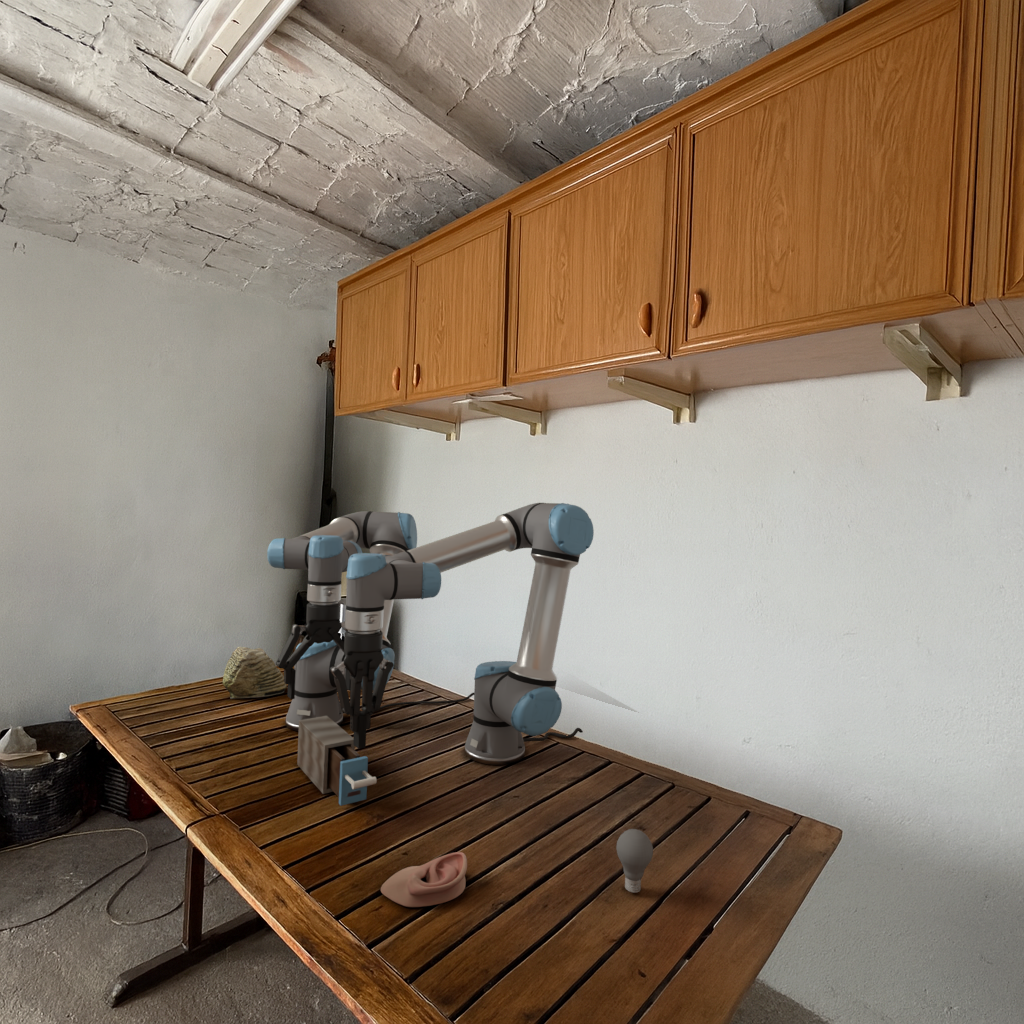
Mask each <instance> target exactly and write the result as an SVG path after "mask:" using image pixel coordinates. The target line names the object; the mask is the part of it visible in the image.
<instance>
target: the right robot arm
mask: <svg viewBox="0 0 1024 1024" xmlns="http://www.w3.org/2000/svg"><path fill="white" fill-rule="evenodd" d="M594 532H595V530H594V524H593V521H592V518H590V516H589V513H587V511H586V510H584V509H583V508H582V507H580V506H578V505H576V504H570V503H564V502H562V503H555V502H553V503H552V502H534V503H529V504H527V505H525V506H524V505H523V506H522V507H519V508H516V509H514V510H511V511H508V512H505V513H503V514H499V515H497V516H496V518H495V519H494V521H491V522H488V523H485V524H482V525H479V526H475V527H474V528H470V529H468V530H465V531H461V532H458V533H456V534H453V535H449V536H447V537H446V536H445V537H444V538H440V539H438V540H434V541H431V542H429V543H426V544H422V545H419V546H416V548H414V549H411V550H408V551H405V552H402V553H399V554H396V555H393V556H390V555H382V554H375V553H370V552H362V553H357V554H353V555H351V556H350V557H349V560H348V567H347V572H346V575H345V579H346V589H345V591H346V593H345V594H346V595H345V596H346V599H345V615H344V617H345V618H344V622H345V628H346V629H347V631H345V632H344V641H343V642H344V655H343V657H342V662H341V663H339V664H338V665H337V666H336V667H335V666H332V667H331V668H330V671H331V673H332V674H333V676H334V677H335V682H336V687H337V695H338V699H339V702H340V706H341V710H342V711H343V712H344V713H343V714H345V715H346V716H350V717H349V729H350V731H351V732H352V733H353V738H354V740H353V745H355V747H356V749H358V750H360V749H366V746H367V745H366V743H367V730H370V728H371V721H372V720H371V719H372V717H371V716H372V715H374V712H373V711H374V710H378V709H379V708H380V707H381V706H382V702H383V699H384V693H385V690H386V686H387V684H388V683H387V679H388V675H389V673H390V671H391V669H392V668H393V669H394V667H393V666H395V663H394V664H393V663H392V662H390V661H389V660H386V659H384V656H383V654H382V640H383V632H382V631H381V630H380V629H382V628H383V613H384V600H393V599H394V600H419V599H420V600H425V599H431V598H435V597H437V596H438V595H439V593H440V591H441V588H442V573H444V572H446V571H450V570H453V569H455V568H458V567H460V566H463V565H466V564H469V563H471V562H475V561H478V560H480V559H483V558H485V557H489V556H491V555H495V554H497V553H499V552H503V551H506V552H508V553H511V552H514V551H517V550H521V549H531V551H530V557H532V560H533V561H534V563H535V565H534V569H533V573H532V580H531V585H530V589H529V596H528V600H527V605H526V611H525V617H524V621H523V627H522V632H521V637H520V642H519V647H518V652H517V658H516V661H511V660H494V661H485V662H482V663H479V664H478V665H477V666H476V668H475V673H474V677H473V680H474V688H473V689H474V690H473V691H474V692H473V693H474V695H473V719H472V724H471V726H470V730H469V732H468V735H467V737H466V740H465V743H464V754H465V756H466V757H467V758H468V759H469V760H471V761H474V762H477V763H479V764H485V765H490V766H491V765H493V766H500V765H501V766H503V765H510V764H514V763H517V762H519V761H521V760H522V759H523V758H525V755H526V745H525V743H529V742H544V741H546V740H547V739H548V738H549V737H551V736H552V737H557V738H560V739H573V738H574V737H575V736H576V735H577V734H578V733H579V734H580V733H583V730H582V729H581V728H580V727H576V728H575V729H574V730H573V732H571V733H570V734H563V733H559V732H553V731H549V730H550V729H552V728H553V727H554V726H555V725H556V723H557V722H558V720H559V718H560V716H561V714H562V709H563V708H562V707H563V702H562V699H561V697H560V694H559V693H558V691H556V686H557V681H558V676H557V675H556V673H555V672H554V670H553V668H554V663H555V662H554V661H555V658H556V657H555V656H556V651H557V646H558V641H559V635H560V629H561V623H562V619H563V614H564V609H565V603H566V598H567V592H568V587H569V581H570V575H571V571H572V569H573V568H575V567H576V566H578V565H579V561H580V557H581V555H582V554H583V553H585V552H586V551H587V549H589V548H590V547H591V545H592V543H593V541H594V535H595V534H594ZM378 667H380V669H379V671H378V675H377V678H376V682H375V686H374V690H373V681H374V673H375V671H376V670H377V668H378ZM345 668H346V669H347V671H348V672H349V673H350V680H351V688H350V691H349V690H348V689H347V686H346V681H345V678H344V676H343V675H344V674H345V671H344V669H345ZM362 678H363V686H362V690H361V682H362ZM386 683H387V684H386ZM360 711H363V712H360ZM378 711H379V710H378ZM522 733H523V734H525V735H527V736H532V737H525V738H523V734H522ZM543 734H544V736H542V737H535V736H541V735H543ZM566 735H568V736H566Z"/></svg>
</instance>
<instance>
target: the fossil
mask: <svg viewBox="0 0 1024 1024" xmlns="http://www.w3.org/2000/svg"><path fill="white" fill-rule="evenodd" d="M222 676H223V677H222V685H223V687H224V688H225V690H226V691H228V693H229V698H230V699H250V698H264V697H271V696H275V695H281V694H284V693H285V691H286V689H287V688H288V684H285V682H284V674H283V673H282V672H281V669H280V668H279V667H277V666H276V662H274V660H273V659H272V658H271V657H270V656H269V655H268V654H267V653H266V652H265V650H264V649H263V648H260V647H258V648H251V647H247V646H246V647H245V646H238V647H237V648H236V649H235V650H233V651H232V653H231V656H230V657H229V659H228V660H227V663H226V666H225V668H224V671H223V675H222Z"/></svg>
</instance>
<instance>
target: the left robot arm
mask: <svg viewBox="0 0 1024 1024" xmlns="http://www.w3.org/2000/svg"><path fill="white" fill-rule="evenodd" d="M417 547H418V530H417V524H416V520H415V518H414V516H413V515H412V514H411V513H407V512H401V511H397V512H394V511H393V512H391V511H390V512H389V511H371V510H362V511H356V512H352V513H347V514H345V515H342V516H339V517H336V518H334V519H333V520H331V521H330V522H329V524H327V525H325V526H321V527H319V528H317V529H314V530H311V531H309V532H306V533H304V534H300V535H299V536H295V537H293V538H286V537H281V538H280V537H279V538H273V539H272V540H271V541H270V543H269V544H268V547H267V553H266V555H267V562H268V563H269V565H270V566H271V567H272V568H275V569H282V570H299V571H301V570H302V571H304V570H305V571H308V572H307V576H308V577H307V591H306V592H307V593H306V601H308V603H307V604H306V617H305V618H306V619H305V621H306V622H305V624H304V625H298V624H296V623H294V624H292V625H291V629H290V635H289V637H288V638H287V640H286V642H285V644H284V646H283V648H282V650H281V652H280V654H279V655H278V657H277V660H276V662H275V665H276V667H277V668H278V669H282V670H283V676H284V682H285V684H286V685H287V694H286V695H287V698H289V699H290V700H291V702H290V704H289V708H288V711H287V713H286V715H285V726H286V728H287V729H289V730H291V731H294V732H295V731H296V732H299V720H304V719H310V718H316V717H322V716H328V717H329V718H330V719H332V720H333V721H334V722H335V723H336V724H337V725H339V726H340V725H342V723H343V722H344V714H345V713H344V712H343V711H342V710H341V706H340V701H339V696H338V691H337V687H336V682H335V677H334V676H333V674H332V673H331V671H330V668H331V667H332V666H335V667H336V666H337V665H338V664H339V663H341V662H342V657H343V655H344V641H343V639H342V637H341V636H340V635H339V634H338V633H339V632H340V631H341V630H343V631H345V632H346V631H347V629H346V628H345V621H341V606H342V605H341V603H340V601H341V600H342V579H343V573H347V567H348V560H349V557H350V556H351V555H353V554H357V553H363V551H362V549H367V550H369V553H375V554H382V555H390V556H393V555H396V554H399V553H402V552H405V551H408V550H411V549H414V548H417ZM394 602H395V599H393V600H384V613H383V628H382V629H380V630H381V631H382V632H383V640H382V654H383V656H384V659H386V660H389V661H390V662H392V663H393V664H394V666H395V658H396V655H395V651H394V649H392V648H391V641H390V640H389V639H388V637H387V636H388V632H389V628H390V621H391V616H392V612H393V607H394ZM303 632H305V634H306V635H305V637H303V639H302V642H299V643H298V644H297V642H298V640H299V638H300V636H301V635H302V634H303ZM296 644H297V645H296ZM295 646H296V647H295ZM294 648H295V650H294ZM293 650H294V651H293ZM292 652H293V653H292ZM394 666H393V668H392V669H391V671H390V673H389V675H388V679H387V683H386V685H388V683H389V681H390V680H391V677H392V674H393V671H394ZM379 669H380V667H378V668H377V670H376V671H375V673H374V681H373V690H374V686H375V682H376V678H377V675H378V671H379ZM344 671H345V674H344V675H343V676H344V678H345V681H346V686H347V691H348V692H350V688H351V680H350V673H349V672H348V671H347V669H346V668H345V669H344ZM362 686H363V678H362V682H361V691H362ZM471 697H474V692H471V693H470V694H468V696H466V697H464V698H459V699H452V700H451V699H450V700H432V701H428V700H417V701H416V700H415V701H402V702H401V701H400V702H394V703H389V704H388V703H387V704H385V705H381V706H380V708H379V709H378V710H374V711H373V713H375V712H378V711H381V710H383V709H386V708H390V707H395V706H405V705H429V704H430V705H440V704H453V703H455V704H456V703H462V702H465V701H468V700H469V699H470V698H471ZM360 712H363V711H362V710H360Z"/></svg>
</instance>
